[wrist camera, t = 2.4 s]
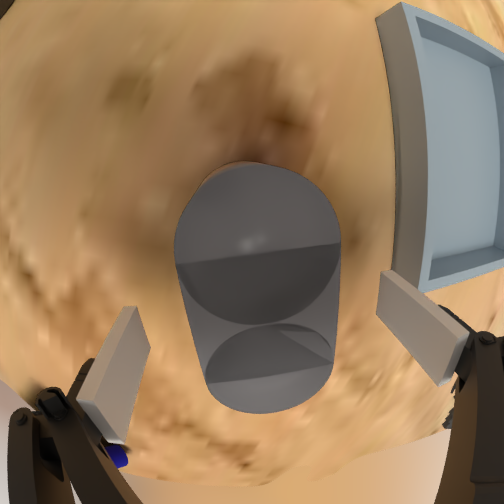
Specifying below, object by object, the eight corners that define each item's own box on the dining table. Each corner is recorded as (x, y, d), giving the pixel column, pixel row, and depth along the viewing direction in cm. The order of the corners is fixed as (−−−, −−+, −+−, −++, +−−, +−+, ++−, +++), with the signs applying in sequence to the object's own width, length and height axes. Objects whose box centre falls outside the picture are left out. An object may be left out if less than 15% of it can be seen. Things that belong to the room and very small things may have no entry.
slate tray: (375, 18, 14) (401, 1, 10) (487, 62, 15) (511, 59, 12) (390, 273, 22) (416, 294, 18) (491, 250, 23) (514, 262, 19)
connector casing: (185, 168, 17) (160, 178, 10) (290, 156, 18) (339, 160, 10) (220, 363, 23) (224, 437, 16) (298, 352, 24) (325, 420, 16)
